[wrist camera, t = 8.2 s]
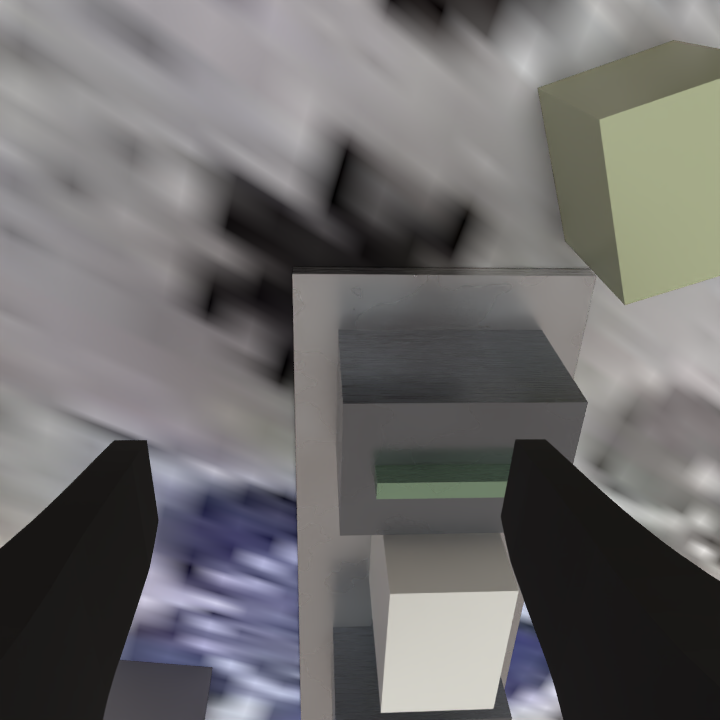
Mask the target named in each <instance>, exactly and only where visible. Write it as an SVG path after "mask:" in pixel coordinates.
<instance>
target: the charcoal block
mask: <svg viewBox="0 0 720 720" xmlns="http://www.w3.org/2000/svg"><path fill="white" fill-rule="evenodd" d="M211 674H212V667H201V666H189V665H176V664H163V663H151V662H138V661H126V660H119V663H118V666H117V669H116V672H115V675H114V679H113V682H112V686H111V689H110V693H109V696H108V700H107V704H106V709H105V713H104V718H103V720H205V714H206V707H207V701H208V694H209V687H210V680H211Z"/></svg>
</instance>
